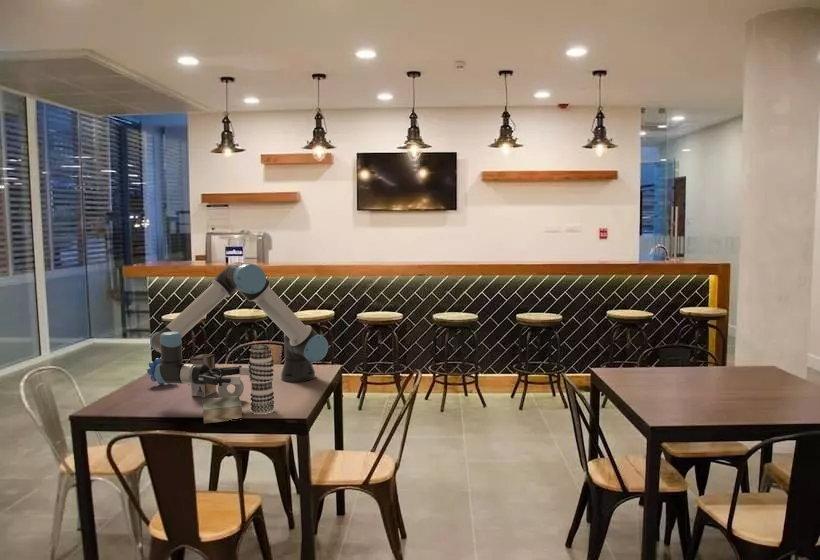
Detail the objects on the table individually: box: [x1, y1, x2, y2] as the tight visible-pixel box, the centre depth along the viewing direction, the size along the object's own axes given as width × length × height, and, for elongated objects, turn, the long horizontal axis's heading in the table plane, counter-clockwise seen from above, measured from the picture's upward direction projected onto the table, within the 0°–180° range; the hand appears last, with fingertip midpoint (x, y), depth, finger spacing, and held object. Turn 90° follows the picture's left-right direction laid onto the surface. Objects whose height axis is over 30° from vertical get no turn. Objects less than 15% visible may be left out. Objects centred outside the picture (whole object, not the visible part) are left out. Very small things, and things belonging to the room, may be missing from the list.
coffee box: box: [189, 353, 217, 398], centre depth 257 cm, size 9×6×16 cm
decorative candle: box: [247, 343, 275, 415], centre depth 232 cm, size 9×9×25 cm
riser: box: [202, 396, 243, 424], centre depth 228 cm, size 13×14×5 cm
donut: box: [217, 379, 245, 398], centre depth 248 cm, size 10×4×10 cm, turn 101°
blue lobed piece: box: [146, 357, 165, 386], centre depth 273 cm, size 12×7×12 cm, turn 115°
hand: (248, 376), depth 232 cm, fingers open, 13 cm apart
